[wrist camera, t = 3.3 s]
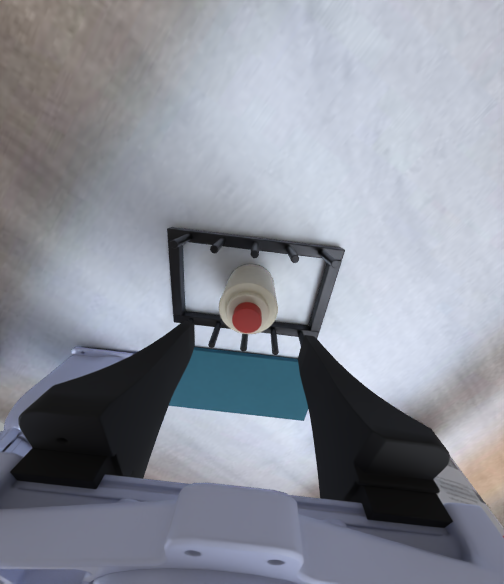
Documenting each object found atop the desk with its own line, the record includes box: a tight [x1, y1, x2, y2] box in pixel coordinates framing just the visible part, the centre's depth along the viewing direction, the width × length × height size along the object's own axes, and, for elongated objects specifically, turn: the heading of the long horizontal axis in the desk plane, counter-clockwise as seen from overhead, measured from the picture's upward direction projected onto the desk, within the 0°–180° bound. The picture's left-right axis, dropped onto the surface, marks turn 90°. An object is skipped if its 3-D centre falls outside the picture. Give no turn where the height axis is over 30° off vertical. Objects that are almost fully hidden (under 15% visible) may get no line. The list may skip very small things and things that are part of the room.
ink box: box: [434, 456, 504, 538], centre depth 23 cm, size 8×5×15 cm, turn 66°
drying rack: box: [167, 227, 345, 355], centre depth 18 cm, size 16×10×4 cm, turn 84°
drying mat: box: [169, 347, 308, 421], centre depth 26 cm, size 20×11×1 cm, turn 84°
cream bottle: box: [219, 264, 278, 334], centre depth 17 cm, size 5×5×7 cm
